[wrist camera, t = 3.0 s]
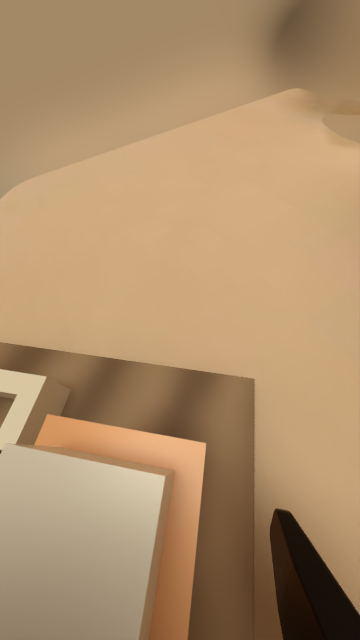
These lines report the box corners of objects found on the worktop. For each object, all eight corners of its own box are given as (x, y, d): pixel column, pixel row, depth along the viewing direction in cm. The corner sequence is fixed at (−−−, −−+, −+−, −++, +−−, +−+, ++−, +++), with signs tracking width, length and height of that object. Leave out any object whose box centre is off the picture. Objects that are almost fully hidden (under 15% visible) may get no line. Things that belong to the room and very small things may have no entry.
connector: (199, 451, 14) (211, 437, 4) (188, 552, 11) (160, 1021, 2) (127, 437, 14) (-7, 398, 5) (104, 531, 12) (-240, 818, 2)
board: (250, 383, 17) (254, 378, 16) (246, 715, 10) (253, 747, 9) (-18, 344, 19) (-30, 338, 18) (-171, 579, 12) (-204, 590, 11)
